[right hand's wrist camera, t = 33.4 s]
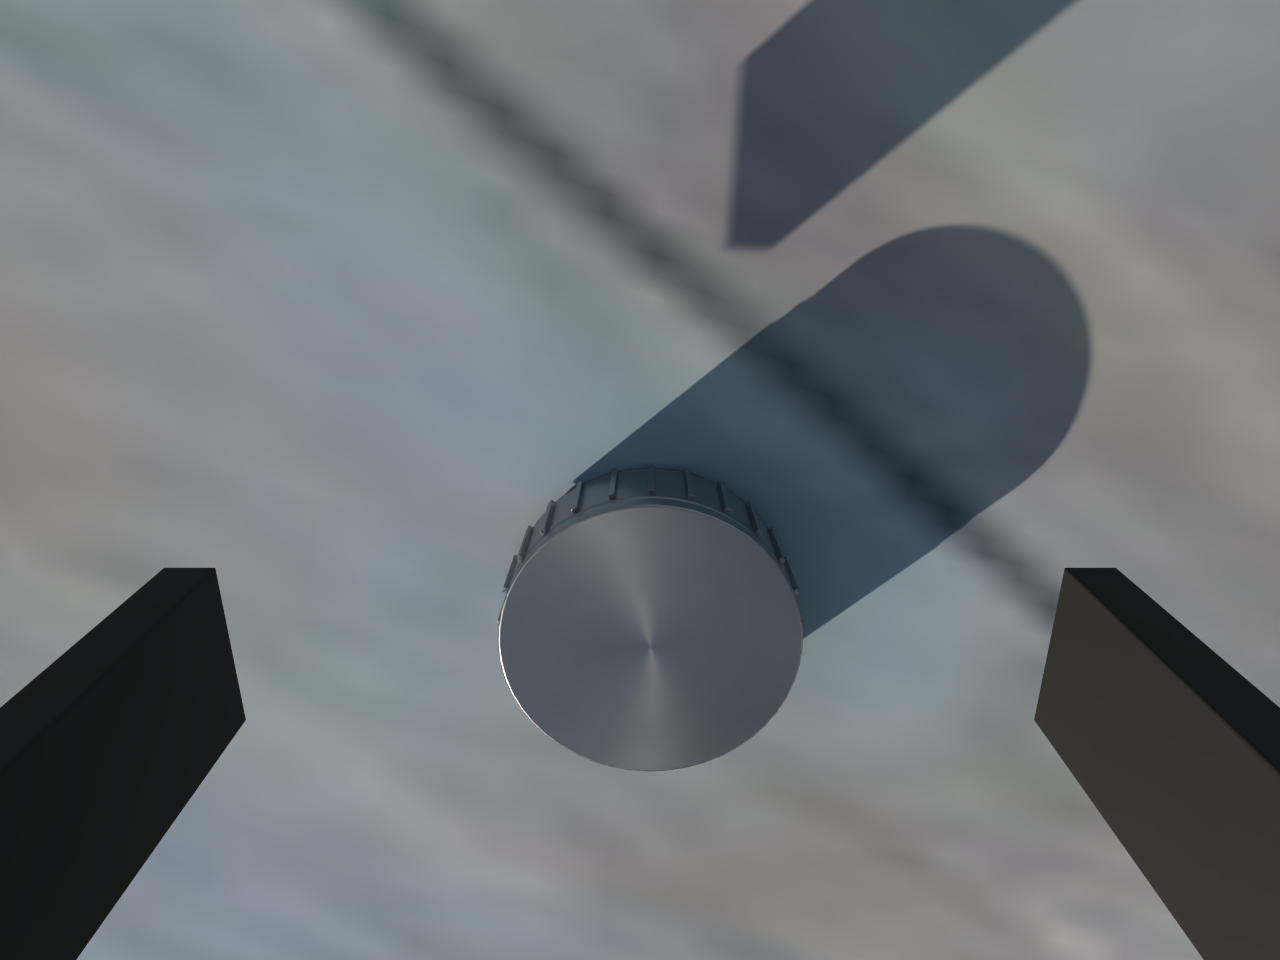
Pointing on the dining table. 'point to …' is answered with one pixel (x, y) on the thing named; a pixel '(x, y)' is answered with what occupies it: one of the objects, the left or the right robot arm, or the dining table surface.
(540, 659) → the lid
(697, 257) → the dining table surface
